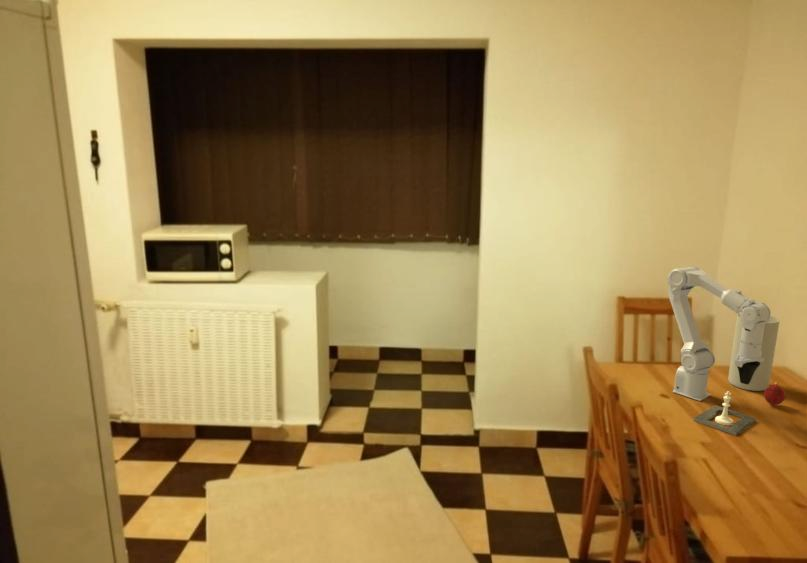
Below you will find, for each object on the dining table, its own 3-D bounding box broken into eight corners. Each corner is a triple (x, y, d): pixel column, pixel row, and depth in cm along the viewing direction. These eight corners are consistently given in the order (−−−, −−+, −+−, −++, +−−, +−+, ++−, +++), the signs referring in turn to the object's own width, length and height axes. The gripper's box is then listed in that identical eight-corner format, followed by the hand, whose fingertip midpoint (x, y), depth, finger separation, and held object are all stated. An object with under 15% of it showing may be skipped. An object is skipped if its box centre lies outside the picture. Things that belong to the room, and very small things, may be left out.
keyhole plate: (714, 407, 181) (715, 404, 181) (755, 421, 172) (756, 418, 172) (694, 420, 173) (694, 417, 172) (735, 435, 163) (736, 432, 163)
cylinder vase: (763, 380, 203) (773, 314, 198) (772, 394, 192) (784, 324, 186) (724, 375, 207) (733, 311, 202) (731, 389, 196) (741, 320, 190)
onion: (786, 410, 180) (790, 387, 178) (766, 408, 181) (770, 385, 179) (778, 402, 185) (782, 380, 184) (759, 400, 187) (762, 378, 185)
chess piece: (711, 418, 174) (715, 388, 172) (726, 417, 175) (730, 387, 172) (721, 425, 170) (725, 395, 167) (736, 425, 170) (741, 394, 168)
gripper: (755, 350, 165) (748, 393, 168) (775, 340, 173) (768, 381, 176) (729, 343, 170) (723, 385, 173) (750, 334, 179) (744, 374, 182)
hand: (744, 383), depth 175 cm, fingers closed
